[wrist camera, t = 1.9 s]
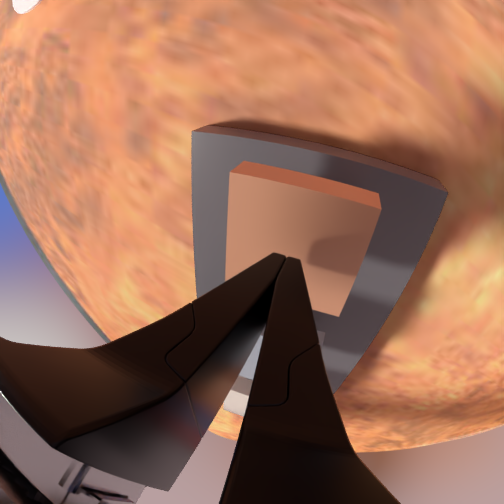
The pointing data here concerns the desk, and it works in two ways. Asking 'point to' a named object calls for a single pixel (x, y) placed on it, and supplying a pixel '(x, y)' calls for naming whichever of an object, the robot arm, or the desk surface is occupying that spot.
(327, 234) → the key terracotta
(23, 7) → the white stand
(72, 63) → the desk surface
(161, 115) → the desk surface
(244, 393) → the key cream
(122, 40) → the desk surface
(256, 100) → the desk surface
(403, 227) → the keypad board
